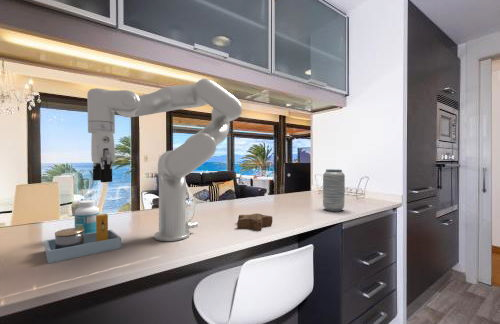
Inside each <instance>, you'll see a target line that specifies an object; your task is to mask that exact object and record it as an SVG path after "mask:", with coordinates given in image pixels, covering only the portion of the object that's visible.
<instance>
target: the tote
mask: <svg viewBox="0 0 500 324" xmlns="http://www.w3.org/2000/svg"><path fill="white" fill-rule="evenodd" d="M121 248H122V237H121V236H120V235H119V234H117V233H116V232H115V231H113V230H112V229H108V240H103V241H98V242H96V232H94V233H88V234H84V244H82V245H76V246H71V247H66V248H61V249H55V238H53V239H52V238H51V239H47V240H45V241H44V252H45V257H46V261H47V264H53V263H57V262H61V261H62V262H63V261H68V260H71V259H76V258H81V257H85V256H90V255H95V254H101V253H104V252H109V251H113V250H118V249H121Z"/></svg>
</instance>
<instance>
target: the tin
mask: <svg viewBox="0 0 500 324" xmlns="http://www.w3.org/2000/svg"><path fill="white" fill-rule="evenodd" d="M54 239H55V249H61V248H66V247H71V246H76V245H82V244H84V228H75V227H69V228H65V229H60V230H57V231H55V232H54Z"/></svg>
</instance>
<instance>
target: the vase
mask: <svg viewBox="0 0 500 324" xmlns="http://www.w3.org/2000/svg"><path fill="white" fill-rule="evenodd" d="M345 177H346V176H345V174H344V172H343V170H342V169H339V168H337V169H335V168H333V169H332V168H331V169H330V168H329V169H327V168H326V169H325V171H324V173H323V175H322V206H323V208H324V209H325V210H326V211H327V210H328V212H335V211H337V212H342V211H343V209H344V208H345V204H346V203H345V202H346V201H345V199H346V198H345V196H346V194H345V191H346V190H345V188H346V186H345V185H346V181H345V180H346V179H345ZM341 210H342V211H341Z"/></svg>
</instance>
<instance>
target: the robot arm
mask: <svg viewBox="0 0 500 324" xmlns="http://www.w3.org/2000/svg"><path fill="white" fill-rule="evenodd" d="M86 96H87V98H86V99H87V102H86V103H87V132H88V133H89V134H91V141H90V142H91V146H90V147H91V150H90V151H91V152H90V153H91V154H90V155H91V156H90V157H91V161H92V163H93V164H92V180H93V181H94V182H95V181H99V182H100V183H112V182H113V164H114V163H115V162H116V149H115V147H116V146H115V138H114V134H116V128H115V127H116V125H115V124H116V123H115V121H116V120H115V117H116V116H115V112H116V113H117V114H118V115H120V116H121V117H123V118H136V117H143V116H149V115H154V114H160V113H167V112H170V111H178V110H185V109H190V108H198V107H203V106H206V105H209V106H211V108H212V109H211V121H210V123H209V124H208V125H206V126H205V127H204V128H202V129H201V130H200V131H198V132H196V133H194V134H193V135H191V136H189V137H188V138H187V139H186V140H185V141H184V143H182V144H181V145H180V146H178V147H176V148H174V150H173V149H172V150H167V151H165V152H163V153H162V154H161V155H160V157H159V159H158V162H157V175H158V231H157V232H155V233H154V234H153V236H154V237H153V238H154V239H155V240H157V241H160V242H176V241H181V240H184V239H187V238H189V237H190V235H191V231H190V230H191V229H195V228H198V227H199V226H198V222H187V220H186V219H187V217H186V216H187V206H186V205H187V199H186V198H187V186H186V185H187V183H186V176H187V175H189V174H191V173H192V172H193V171H195V170H196V169H198V168H199V167H201V166H202V165H203V164H205V163H206V162H207V161H209V160H210V159H211V158H212V157H213V156H214V155H215V153H216V151H217V150H216V149H217V147H218V145H220V144H222V142H223V141H224V140H225V139H226V138H227V137H228V135H229V131H230V124H231V123H230V122H232V121H235V120H237V119H239V117H240V116H241V115H242V111H243V105H242V103H241V102H240V100H238V98H237V97H235V96H234V95H233V94H231V93H230V91H229V92H228V90H226V89H225V88H223V87H222V86H221V85H219V84H218V83H216V82H215V81H213V80H211V79H208V78H201V79H199V80H198V81H196V83H193V84H183V85H172V86H171V85H170V86H165V87H162V88H159V89H158V90H156V91H154V92H150V93H147V94H142V95H138V94H137V92H134V91H132V90H127V89H126V90H123V89H120V90H109V89H105V88H91V89H89V90H88V91H87V95H86Z"/></svg>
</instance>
